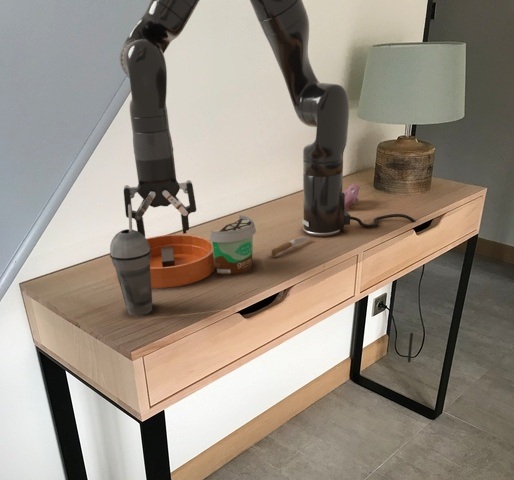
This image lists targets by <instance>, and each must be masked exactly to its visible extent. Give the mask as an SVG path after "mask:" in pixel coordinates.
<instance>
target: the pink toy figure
mask: <svg viewBox="0 0 514 480" xmlns="http://www.w3.org/2000/svg"><path fill="white" fill-rule="evenodd" d="M359 190H360V186H359V185H358V184H355V183H351V184H350V185H349V186H348V187H347V189H346V190H344V191H343V192H344V193H345V210H347V209H351V208H352V206H353V205H354V203H356V202H359V199H360V198H359V197H358V196H359Z"/></svg>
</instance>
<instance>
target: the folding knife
mask: <svg viewBox="0 0 514 480" xmlns="http://www.w3.org/2000/svg"><path fill="white" fill-rule="evenodd" d="M309 238H310V235H306V236H303V237H298V238H295V239H291V240H290V241H287V242H284V243H282V244H279V245H278V246H276V247H274V248H272V249H271V258H275V257H276V256H277V254H279V253H282V252H284V251H286V250H288V249H290V248H292V247H294V246H295V245H299V244H302V243H304V242H306V241H307V240H308V239H309Z"/></svg>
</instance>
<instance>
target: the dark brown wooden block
mask: <svg viewBox="0 0 514 480" xmlns="http://www.w3.org/2000/svg"><path fill="white" fill-rule="evenodd" d="M161 254H162V266H163V267H171V266H175V260H174V252H173V246H170V247H161Z"/></svg>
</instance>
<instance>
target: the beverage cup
mask: <svg viewBox="0 0 514 480" xmlns="http://www.w3.org/2000/svg"><path fill="white" fill-rule="evenodd" d="M128 212H129V218H128V228H127V229H123V230H120V231H119V232H117V233H115V235H114V236H113V237H112V240H111V241H110V246H109V257H110V259H111V262H112V264H113V267H114V268H115V272H116V275H117V280H118V283H119V287H120V290H121V294H122V297H123V301H124V305H125V307H126V310H127V313H128V314H129V315H131V316H144V315H146V314H149V313H151V312H152V311H153V293H152V292H153V290H152V289H153V288H151V272H150V262H151V254H150V253H151V249H150V247H149V243H148V241H147V237H146V236H145V237H144V236H143V235H142V234H141V233H140V232H138V231H137V230H136V229H133V218H132V211H131V205H128Z"/></svg>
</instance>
